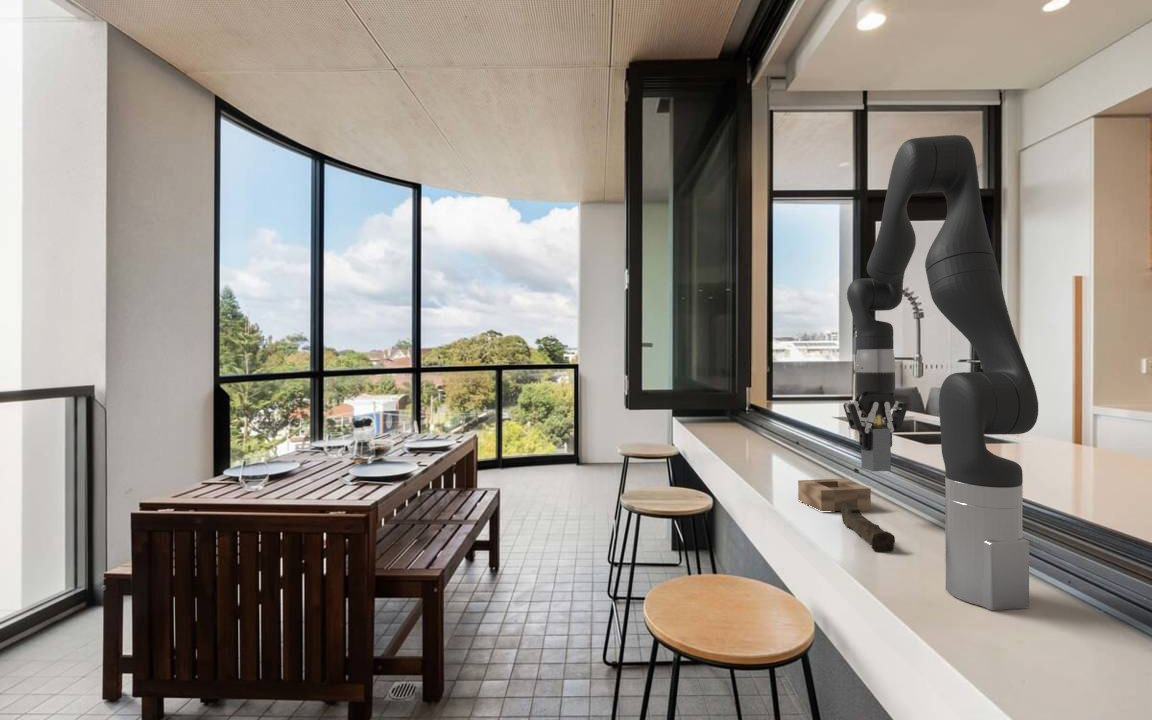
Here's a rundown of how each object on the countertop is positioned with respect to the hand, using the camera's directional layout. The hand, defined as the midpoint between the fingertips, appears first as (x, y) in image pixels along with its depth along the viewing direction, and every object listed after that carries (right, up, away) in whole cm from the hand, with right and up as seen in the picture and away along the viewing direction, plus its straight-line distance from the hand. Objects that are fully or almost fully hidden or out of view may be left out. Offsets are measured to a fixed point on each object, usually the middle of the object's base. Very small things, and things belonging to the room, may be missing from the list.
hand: (875, 449), depth 120 cm
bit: (0, -4, 0) cm, 4 cm away
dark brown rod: (-9, -16, -10) cm, 21 cm away
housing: (-4, -15, +11) cm, 19 cm away
